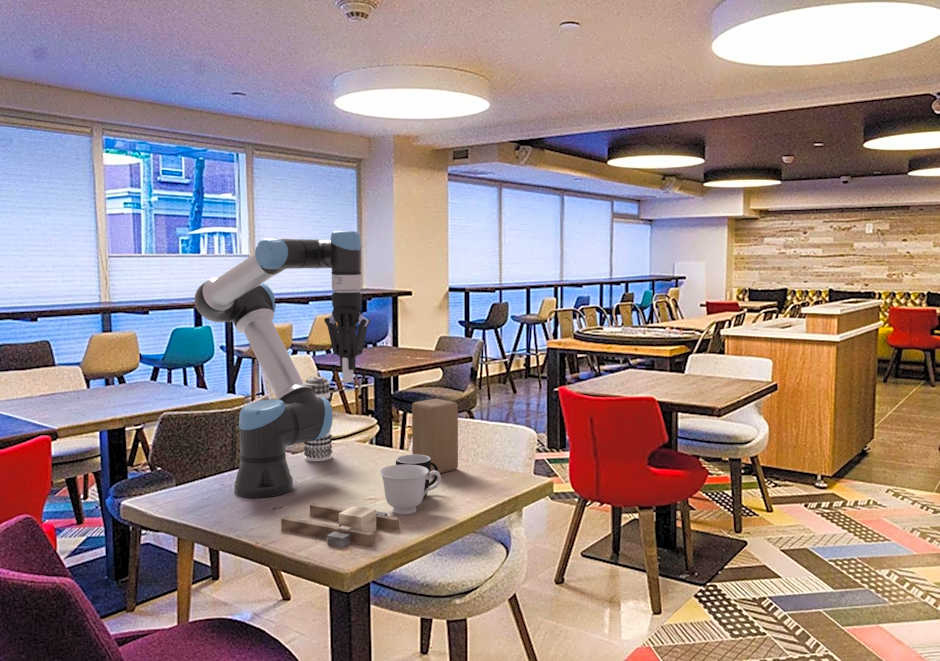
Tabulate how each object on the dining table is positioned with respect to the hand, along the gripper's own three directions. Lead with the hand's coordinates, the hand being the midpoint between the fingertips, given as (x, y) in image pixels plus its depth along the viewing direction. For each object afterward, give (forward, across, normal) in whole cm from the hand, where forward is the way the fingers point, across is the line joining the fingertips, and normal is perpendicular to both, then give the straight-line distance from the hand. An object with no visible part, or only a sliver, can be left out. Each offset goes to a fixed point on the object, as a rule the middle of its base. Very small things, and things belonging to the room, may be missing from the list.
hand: (348, 381), depth 198 cm
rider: (+30, +19, -24) cm, 42 cm away
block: (+30, +10, +29) cm, 43 cm away
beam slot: (+29, +14, -24) cm, 40 cm away
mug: (+30, +18, +5) cm, 35 cm away
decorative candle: (+30, -29, +25) cm, 48 cm away
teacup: (+30, +22, -6) cm, 37 cm away
